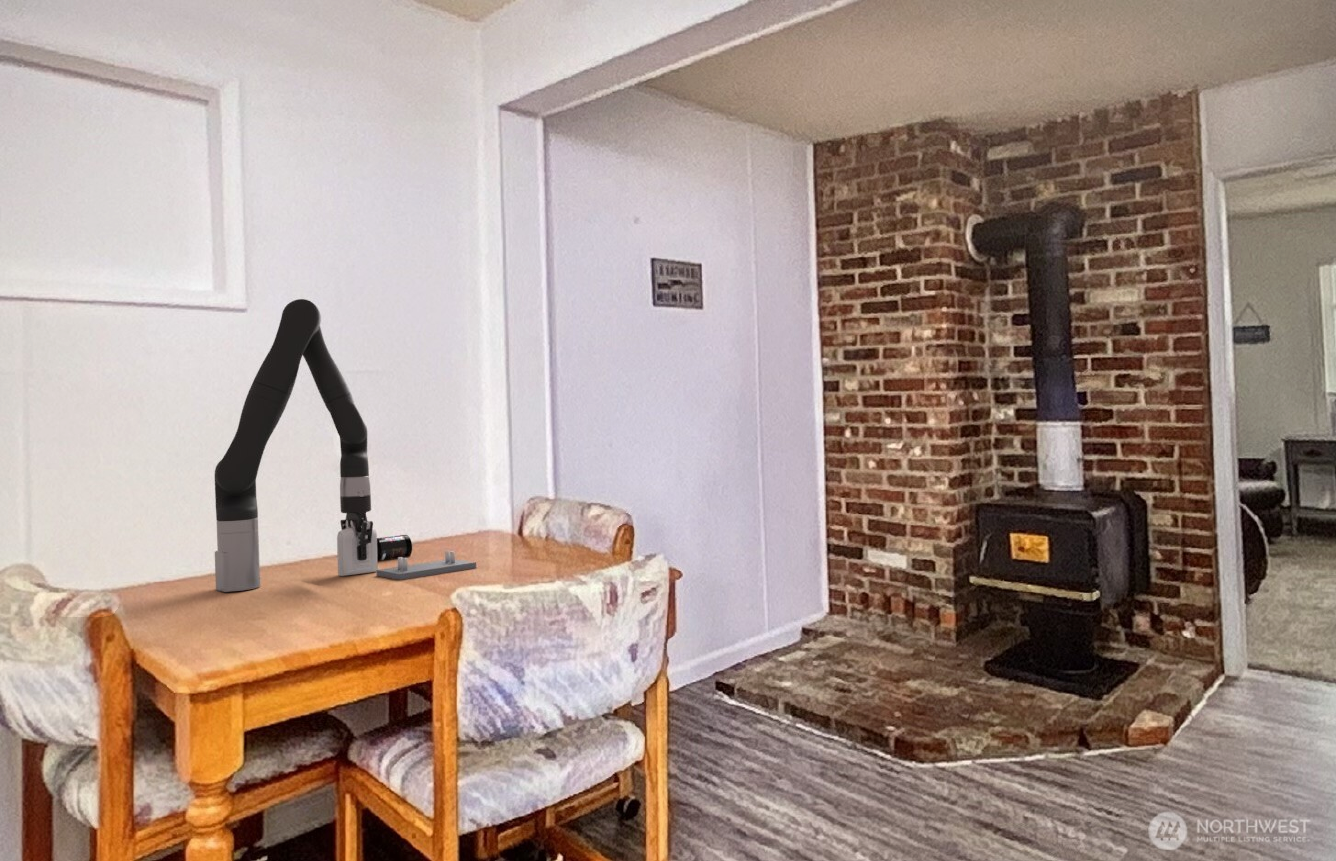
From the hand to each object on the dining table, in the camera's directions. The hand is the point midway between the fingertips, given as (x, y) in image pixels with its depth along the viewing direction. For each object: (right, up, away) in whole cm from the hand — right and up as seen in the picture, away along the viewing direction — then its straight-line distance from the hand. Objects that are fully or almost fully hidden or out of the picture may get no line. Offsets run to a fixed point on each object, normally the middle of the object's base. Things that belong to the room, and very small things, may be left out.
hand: (357, 559), depth 227 cm
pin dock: (+18, -3, -1) cm, 19 cm away
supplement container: (-2, -1, +19) cm, 19 cm away
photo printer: (0, -4, 0) cm, 4 cm away
